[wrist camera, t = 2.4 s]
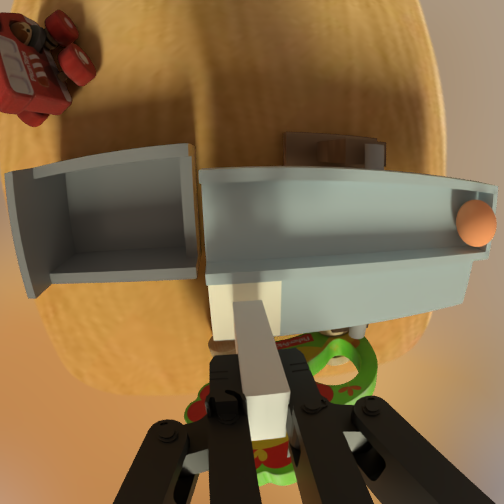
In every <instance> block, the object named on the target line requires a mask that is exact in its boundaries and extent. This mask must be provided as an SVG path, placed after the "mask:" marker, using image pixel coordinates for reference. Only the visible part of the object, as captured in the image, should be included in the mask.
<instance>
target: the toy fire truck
mask: <svg viewBox="0 0 504 504" xmlns="http://www.w3.org/2000/svg"><path fill="white" fill-rule="evenodd" d="M45 27H46V28H45V29H43V28H42V27H40V26H39V25H38V24H37V23H36V22H35V21H33V20H31V19H29V18H27V17H25V16H24V15H22V14H19V13H0V111H1V112H3V113H8V114H17V115H18V117H19V118H20V119H21V120H22V121H23V122H24V123H25V124H27V125H29V126H32V127H37V126H39V125H41V124H42V123H43V122H44V121H45V120H46V119H47V118H48V116H49V115H50V114H52V115H61V114H62V113H63V112H64V111H65V110H66V109H67V108H68V107H69V106H70V105H71V103H72V98H71V96H70V94H69V92H68V90H67V83H66V80H67V79H68V78H70V79H71V80H72V81H73V82H75V83H76V84H77V85H78V86H85V85H86V84H87V83H89V82H90V81H91V80H92V79H94V78H95V76H96V70H95V67H94V65H93V63H92V62H91V60H90V59H89V57H88V56H87V55H86V53H85V52H84V51H83V50H82V49H81V48H80V47H79V46H78V45H76V44H73V42H74V41H75V40H76V39H77V38H78V36H79V34H78V30H77V28H76V26H75V25H74V23H73V22H72V21H71V19H70V18H69V17H68V16H67V15H66V14H65V13H64V12H62V11H61V10H57V11H55V12H54V13H52V14H51V15H50V16H49V17H47V18H46V20H45ZM71 43H72V44H71ZM58 45H61V46H63V47H66V48H64V49H63V50H62V51H61V52H60V53H59V54H58V62H59V64H60V66H61V68H62V70H63V71H61V72H59V71H58V68H57V66H56V64H55V62H54V59H53V57H52V55H51V53H50V49H51V50H53V49H55V48H56V47H57V46H58Z"/></svg>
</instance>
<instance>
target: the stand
mask: <svg viewBox="0 0 504 504" xmlns="http://www.w3.org/2000/svg"><path fill="white" fill-rule="evenodd" d="M365 144H379V145H384V166H385V167H386V143H385V142H377V139H376V138H368V137H359V136H349V135H337V134H323V133H305V132H284V133H283V157H284V166H317V167H345V168H363V169H365ZM349 328H350V327H346V328H339V329H332V330H331V331H332V333H338V332H344V331H349ZM366 328H368V324H367V325H366Z"/></svg>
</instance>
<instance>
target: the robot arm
mask: <svg viewBox="0 0 504 504" xmlns="http://www.w3.org/2000/svg"><path fill="white" fill-rule="evenodd" d="M233 318H234V334H235V347H236V354H229V355H214V357H213V359H212V360H211V362H210V389H209V394H208V395H207V396H206V399H205V407H206V412H207V414H206V415H205V416H204V417H203V418H201V419H200V420H198V421H195V422H192V423H189V424H185V425H183V424H181V423H180V422H178V421H175V420H162V421H158V422H157V423H155V424H153V425H152V426H151V428H150V429H149V430H148V433H147V434H146V437H145V439H144V441H143V443H142V445H141V447H140V449H139V451H138V453H137V455H136V457H135V459H134V461H133V463H132V465H131V467H130V469H129V471H128V473H127V475H126V477H125V479H124V481H123V483H122V485H121V488H120V490H119V492H118V494H117V496H116V498H115V500H114V502H113V504H190V502H191V499H192V496H193V493H194V489H195V486H196V483H197V480H198V476H199V473H202V472H205V471H208V470H209V489H210V504H262V502H261V497H260V492H259V485H258V479H257V472H256V466H255V460H254V454H253V447H252V441H257V440H266V439H274V438H282V437H286V431H287V434H288V438H289V443H288V451H287V458H288V457H290V456H291V460H292V464H293V468H294V472H295V476H296V480H297V483H298V487H299V491H300V495H301V499H302V503H303V504H374V503H373V500H372V498H371V496H370V493H369V491H368V489H367V487H368V488H369V489H370V490H371V491H372V493H373V494H374V495H375V496H376V497H377V499H378V500H379V501H380V502H381V503H382V504H495V503H494V502H493V501H492V500H491V499H490V498H489V497H488V496H486V495H485V494H484V493H483V492H482V491H481V490H480V489H479V488H478V487H477V486H476V485H474V484H473V483H472V482H471V481H470V480H469V479H468V478H467V477H466V476H465V475H464V474H462V473H461V472H460V471H459V470H458V469H457V468H456V467H455V466H454V465H453V464H452V463H451V462H449V461H448V460H447V459H446V458H445V457H444V456H443V455H442V454H441V453H440V452H439V451H438V450H436V448H435V447H433V446H432V445H431V444H430V443H429V442H428V441H427V440H426V439H425V438H424V437H423V436H422V435H421V434H420V433H418V432H417V431H416V430H415V429H414V428H413V427H412V426H411V425H410V424H409V423H408V422H407V421H406V420H405V419H404V418H403V417H402V416H401V415H399V413H397V412H396V411H395V410H394V409H393V408H392V407H391V406H390V405H389V404H388V403H387V402H386V401H385V400H383V399H382V398H380V397H377V396H364V397H361V398H360V399H358V400H357V401H356V403H355V404H354V405H341V404H334V403H331V402H329V400H328V399H327V398H325V397H324V396H322V395H321V394H320V392H319V389H318V387H317V385H316V382H315V380H314V378H313V375H312V373H311V371H310V368H309V366H308V364H307V361H306V359H305V356H304V354H303V353H302V352H301V351H299V350H298V349H297V348H288V349H279V350H277V347H276V344H275V340H274V337H273V334H272V331H271V328H270V324H269V321H268V318H267V315H266V311H265V308H264V305H263V302H262V300H254V301H239V302H233ZM366 485H367V487H366Z"/></svg>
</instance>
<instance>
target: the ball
mask: <svg viewBox="0 0 504 504" xmlns="http://www.w3.org/2000/svg"><path fill="white" fill-rule="evenodd" d="M456 227H457V231H458V234H459V236H460V237H461V239H462V240H463V241H464V242H465V243H466V244H468V245H470V246H473V247H481V246H484V245H486V244H487V243H489V242H490V241H491V240H492V238H493V236H494V234H495V231H496V217H495V214H494V212H493V210H492V208H491V207H490V206H489V205H488V204H487V203H485V202H484V201H481V200H470V201H467V202H466V203H464V204H463V205H462V206H461V208H460V209H459V211H458V214H457V217H456Z"/></svg>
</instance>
